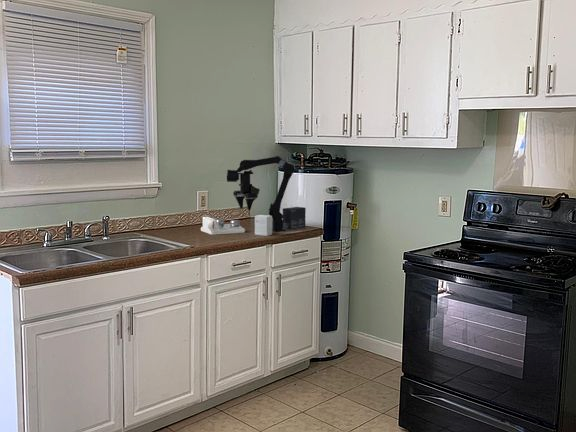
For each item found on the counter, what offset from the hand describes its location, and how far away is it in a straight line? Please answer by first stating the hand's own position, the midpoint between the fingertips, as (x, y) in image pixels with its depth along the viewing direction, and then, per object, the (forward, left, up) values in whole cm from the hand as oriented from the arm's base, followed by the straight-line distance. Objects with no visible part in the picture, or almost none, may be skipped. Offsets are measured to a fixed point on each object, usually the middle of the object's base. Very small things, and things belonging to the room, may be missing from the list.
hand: (245, 209), depth 343 cm
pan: (-1, +11, -10) cm, 15 cm away
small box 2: (-5, -30, -12) cm, 32 cm away
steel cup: (-4, +8, -9) cm, 13 cm away
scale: (-1, +15, -12) cm, 19 cm away
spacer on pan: (+3, +15, -9) cm, 17 cm away
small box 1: (-19, -2, -12) cm, 22 cm away
